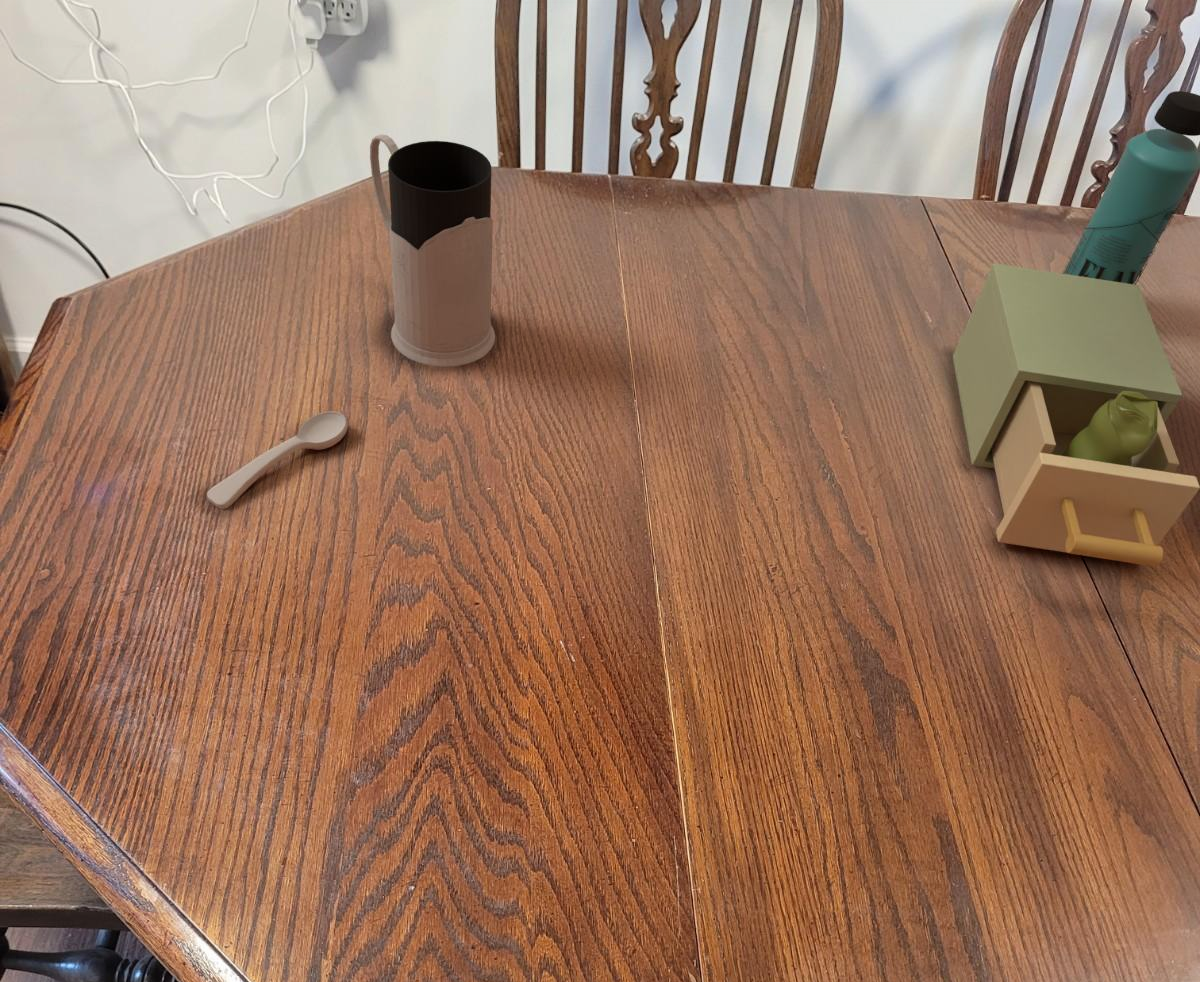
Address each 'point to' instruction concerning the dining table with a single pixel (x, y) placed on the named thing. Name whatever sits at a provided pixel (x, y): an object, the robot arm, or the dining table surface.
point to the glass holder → (438, 249)
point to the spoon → (280, 455)
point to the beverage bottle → (1141, 195)
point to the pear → (1117, 430)
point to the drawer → (1083, 482)
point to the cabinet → (1054, 346)
